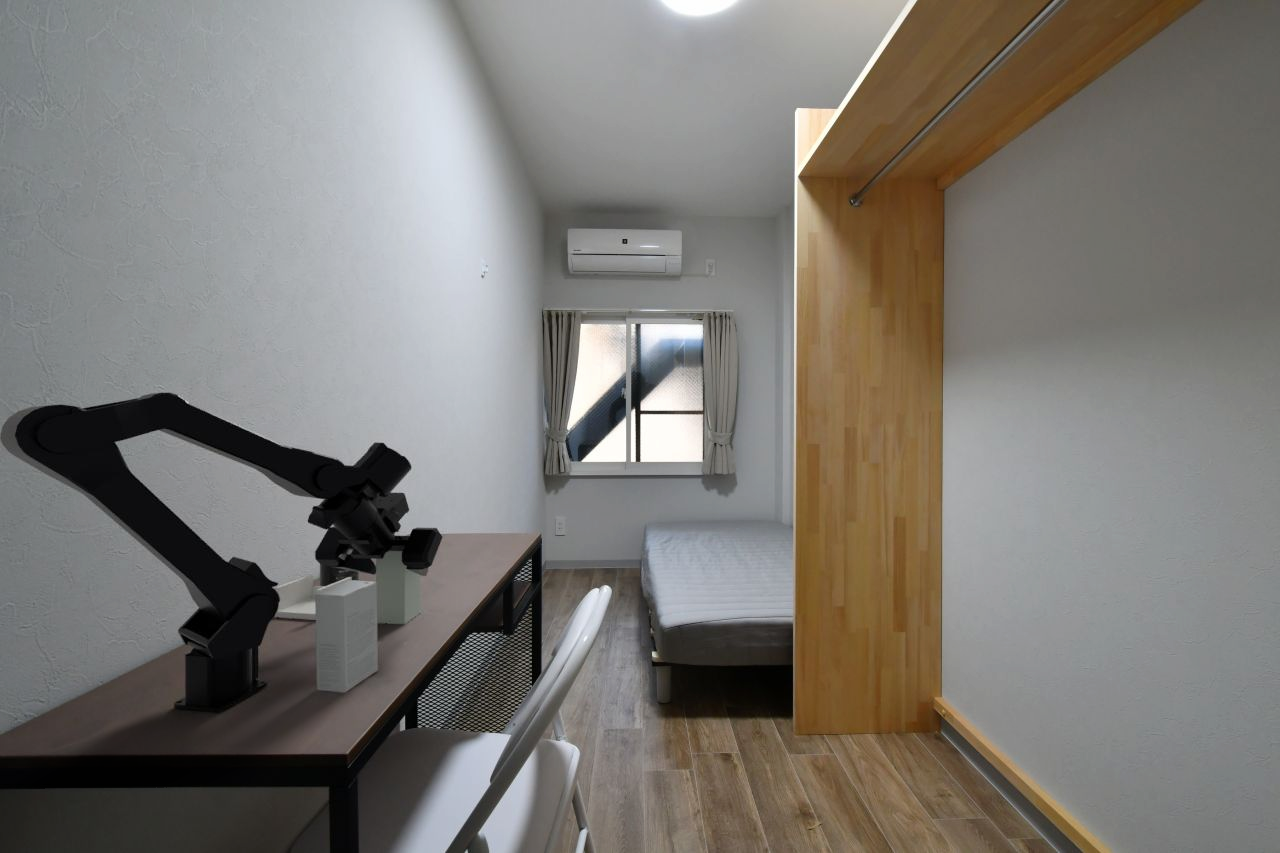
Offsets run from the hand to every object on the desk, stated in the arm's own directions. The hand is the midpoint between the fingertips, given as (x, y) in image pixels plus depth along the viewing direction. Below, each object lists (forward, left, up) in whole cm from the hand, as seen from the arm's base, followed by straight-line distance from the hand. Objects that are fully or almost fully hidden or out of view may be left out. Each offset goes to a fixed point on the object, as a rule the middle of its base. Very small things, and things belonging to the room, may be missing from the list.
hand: (400, 572), depth 89 cm
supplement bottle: (+12, +21, -8) cm, 25 cm away
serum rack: (+1, +13, -8) cm, 15 cm away
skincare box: (-21, -7, -8) cm, 24 cm away
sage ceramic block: (0, 0, -8) cm, 8 cm away
